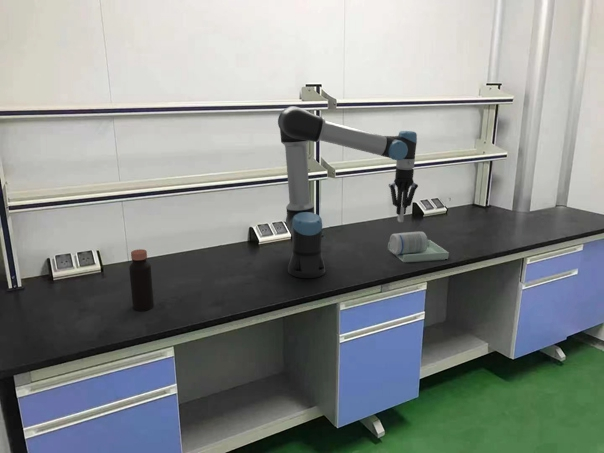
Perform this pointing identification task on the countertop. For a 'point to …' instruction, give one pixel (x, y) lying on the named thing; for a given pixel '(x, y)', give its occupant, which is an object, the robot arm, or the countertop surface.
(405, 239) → the supplement tub
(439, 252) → the tray
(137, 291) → the bottle
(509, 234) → the countertop surface
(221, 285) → the countertop surface
